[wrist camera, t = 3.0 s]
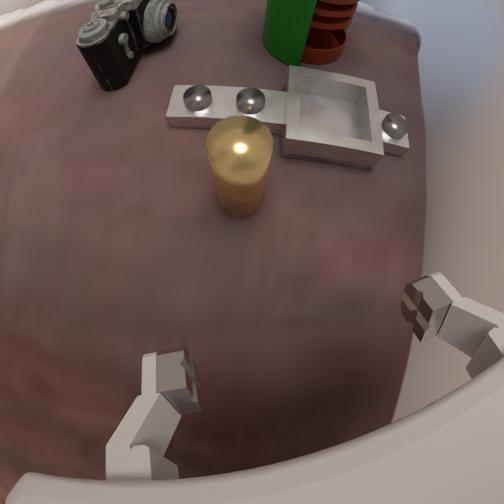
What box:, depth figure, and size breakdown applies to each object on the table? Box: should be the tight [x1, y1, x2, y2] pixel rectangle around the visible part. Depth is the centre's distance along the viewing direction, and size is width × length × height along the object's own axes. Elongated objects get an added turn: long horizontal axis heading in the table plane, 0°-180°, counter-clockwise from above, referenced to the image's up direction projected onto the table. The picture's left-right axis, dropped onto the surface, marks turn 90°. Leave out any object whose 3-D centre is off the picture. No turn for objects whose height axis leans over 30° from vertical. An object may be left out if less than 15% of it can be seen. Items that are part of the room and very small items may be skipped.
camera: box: [76, 0, 177, 91], centre depth 22 cm, size 15×7×10 cm, turn 171°
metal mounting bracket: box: [166, 65, 409, 170], centre depth 24 cm, size 22×8×3 cm, turn 85°
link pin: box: [206, 115, 273, 218], centre depth 20 cm, size 4×4×9 cm
